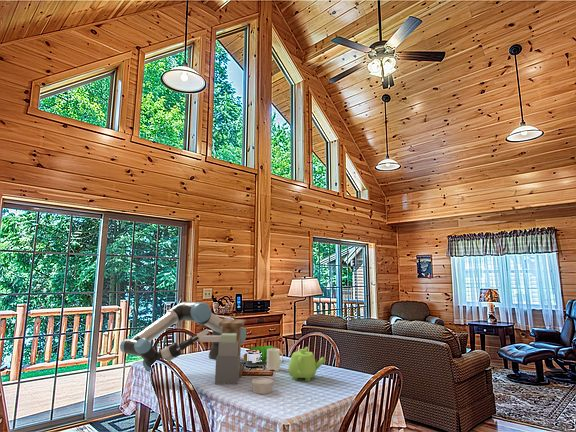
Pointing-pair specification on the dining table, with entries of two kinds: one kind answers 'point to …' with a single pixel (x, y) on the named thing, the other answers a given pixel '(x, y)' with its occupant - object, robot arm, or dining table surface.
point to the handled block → (220, 338)
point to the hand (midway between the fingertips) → (206, 332)
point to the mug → (274, 358)
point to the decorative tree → (262, 349)
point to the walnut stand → (233, 327)
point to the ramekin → (262, 385)
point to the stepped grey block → (227, 364)
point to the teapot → (304, 364)
